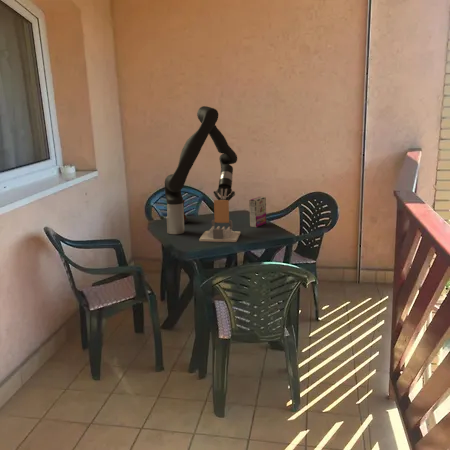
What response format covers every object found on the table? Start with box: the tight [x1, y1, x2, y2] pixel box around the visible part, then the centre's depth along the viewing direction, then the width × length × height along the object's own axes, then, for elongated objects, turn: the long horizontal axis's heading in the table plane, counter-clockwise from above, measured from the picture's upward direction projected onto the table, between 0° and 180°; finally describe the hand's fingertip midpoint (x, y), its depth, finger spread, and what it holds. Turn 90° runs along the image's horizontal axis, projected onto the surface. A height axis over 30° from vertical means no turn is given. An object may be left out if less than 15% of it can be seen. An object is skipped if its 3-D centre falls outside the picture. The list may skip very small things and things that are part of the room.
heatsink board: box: [198, 219, 241, 243], centre depth 271 cm, size 20×17×8 cm
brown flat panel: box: [213, 199, 230, 224], centre depth 275 cm, size 8×1×13 cm, turn 81°
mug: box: [183, 199, 189, 225], centre depth 308 cm, size 18×12×15 cm, turn 16°
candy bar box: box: [248, 196, 267, 228], centre depth 294 cm, size 11×5×16 cm, turn 143°
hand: (222, 206), depth 278 cm, fingers closed
